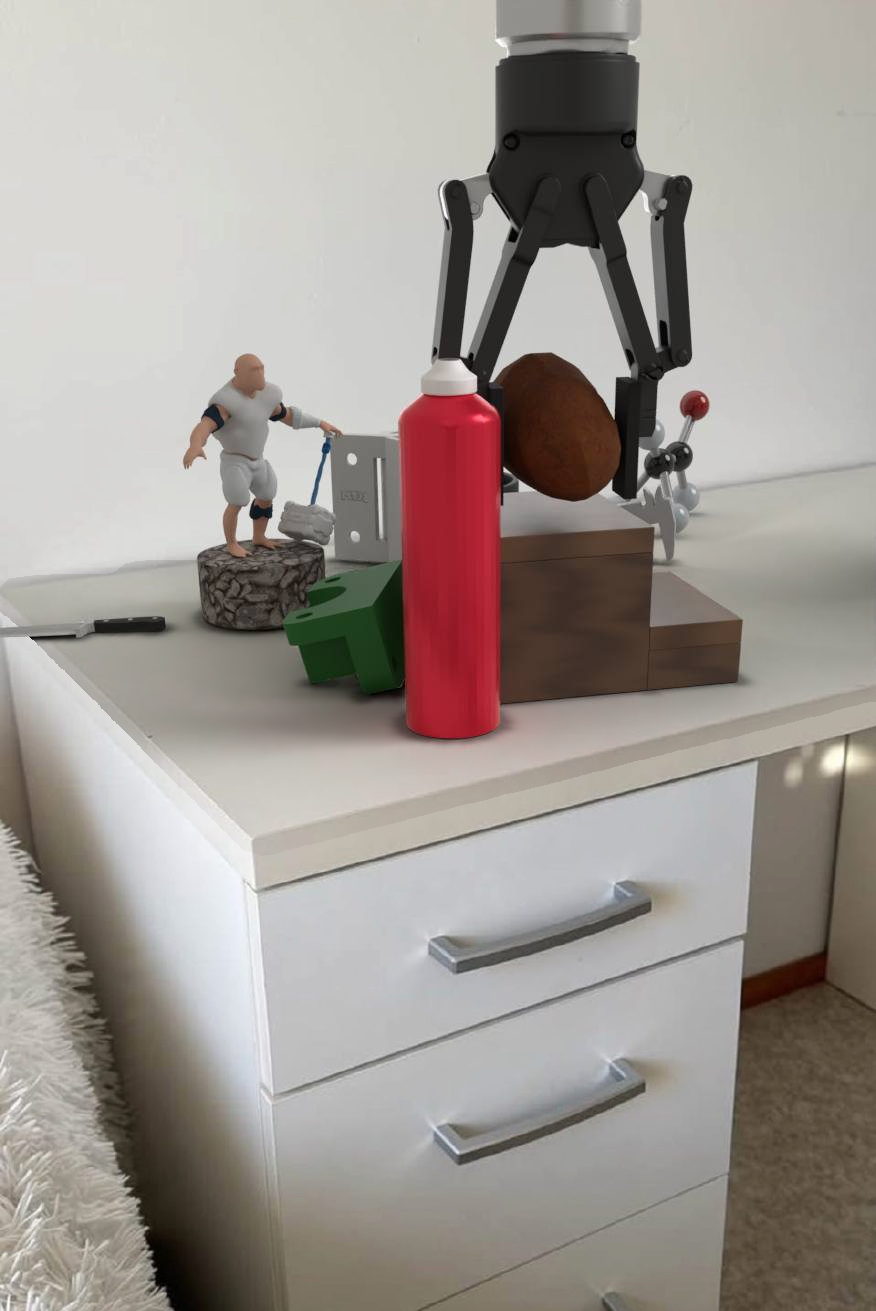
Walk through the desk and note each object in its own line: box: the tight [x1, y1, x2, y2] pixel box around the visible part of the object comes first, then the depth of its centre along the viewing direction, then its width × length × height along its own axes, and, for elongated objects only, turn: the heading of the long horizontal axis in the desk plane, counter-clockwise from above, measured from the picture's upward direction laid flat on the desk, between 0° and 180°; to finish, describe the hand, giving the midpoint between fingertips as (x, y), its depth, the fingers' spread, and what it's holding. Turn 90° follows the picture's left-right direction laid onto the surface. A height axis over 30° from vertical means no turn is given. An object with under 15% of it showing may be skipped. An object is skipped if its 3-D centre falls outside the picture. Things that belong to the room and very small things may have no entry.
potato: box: [492, 351, 621, 502], centre depth 84 cm, size 8×12×8 cm, turn 21°
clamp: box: [282, 559, 405, 695], centre depth 90 cm, size 12×6×9 cm, turn 166°
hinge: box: [329, 429, 402, 563], centre depth 112 cm, size 14×5×10 cm, turn 46°
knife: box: [0, 615, 167, 639], centre depth 99 cm, size 15×1×2 cm
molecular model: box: [607, 389, 711, 535], centre depth 126 cm, size 8×12×11 cm
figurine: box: [182, 352, 343, 630], centre depth 99 cm, size 15×9×18 cm, turn 141°
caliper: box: [617, 483, 676, 562], centre depth 115 cm, size 20×1×6 cm, turn 77°
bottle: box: [397, 358, 501, 739], centre depth 78 cm, size 6×5×20 cm
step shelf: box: [500, 490, 744, 705], centre depth 89 cm, size 16×12×10 cm
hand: (558, 497), depth 83 cm, fingers closed on potato, 7 cm apart
